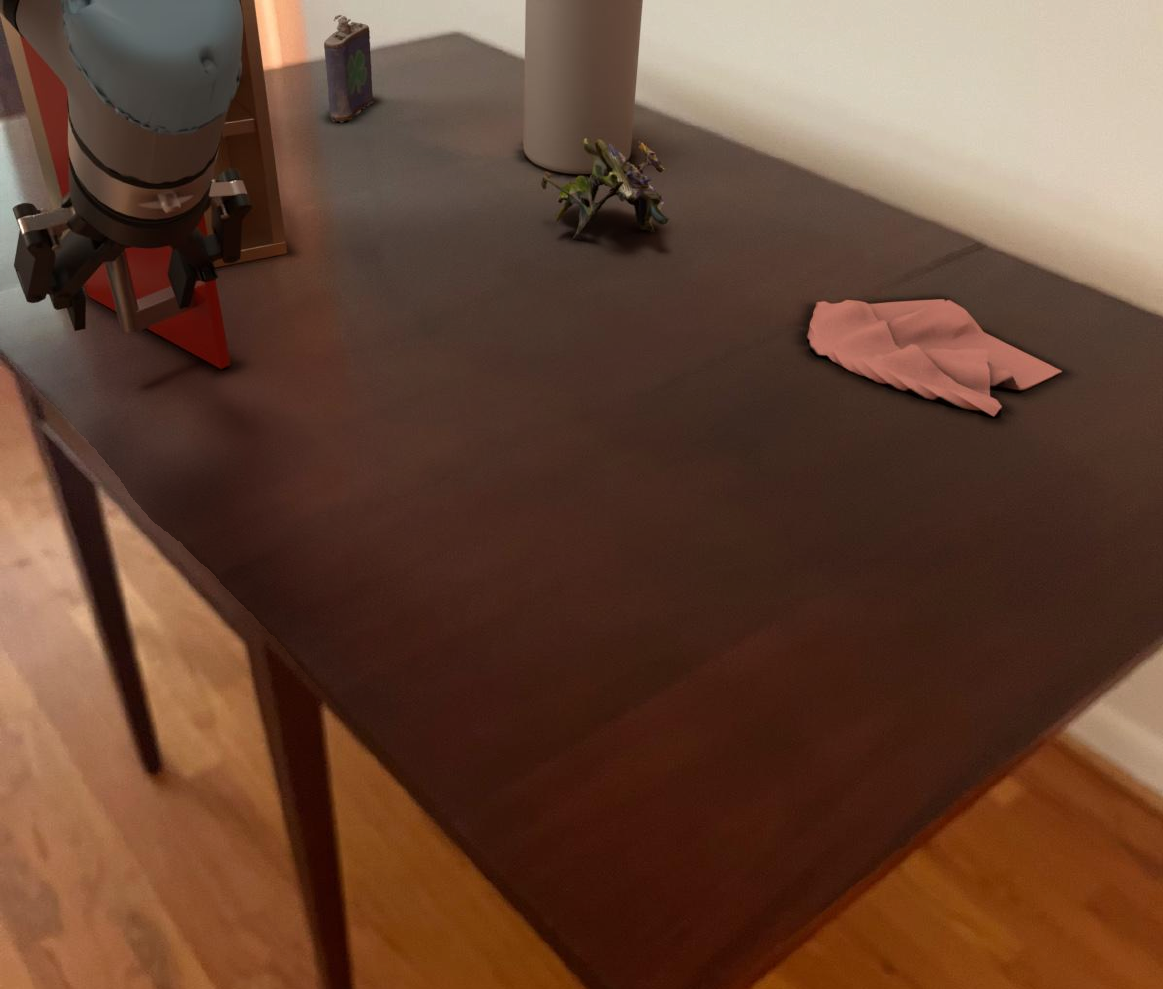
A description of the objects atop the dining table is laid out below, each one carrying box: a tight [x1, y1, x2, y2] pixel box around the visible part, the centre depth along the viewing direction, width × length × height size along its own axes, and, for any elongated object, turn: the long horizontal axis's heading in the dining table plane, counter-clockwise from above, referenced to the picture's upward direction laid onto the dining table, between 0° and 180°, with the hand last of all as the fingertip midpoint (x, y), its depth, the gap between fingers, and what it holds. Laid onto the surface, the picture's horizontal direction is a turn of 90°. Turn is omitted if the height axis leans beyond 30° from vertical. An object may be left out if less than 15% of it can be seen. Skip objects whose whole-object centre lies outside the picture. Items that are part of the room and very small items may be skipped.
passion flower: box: [540, 138, 670, 240], centre depth 114 cm, size 11×11×12 cm
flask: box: [323, 14, 374, 124], centre depth 136 cm, size 9×3×11 cm, turn 163°
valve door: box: [20, 35, 231, 370], centre depth 87 cm, size 7×18×24 cm, turn 52°
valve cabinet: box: [0, 0, 288, 269], centre depth 101 cm, size 12×18×24 cm, turn 121°
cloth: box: [806, 298, 1063, 417], centre depth 100 cm, size 20×22×2 cm
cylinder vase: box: [522, 0, 644, 175], centre depth 123 cm, size 12×12×25 cm
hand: (127, 301), depth 83 cm, fingers open, 7 cm apart
